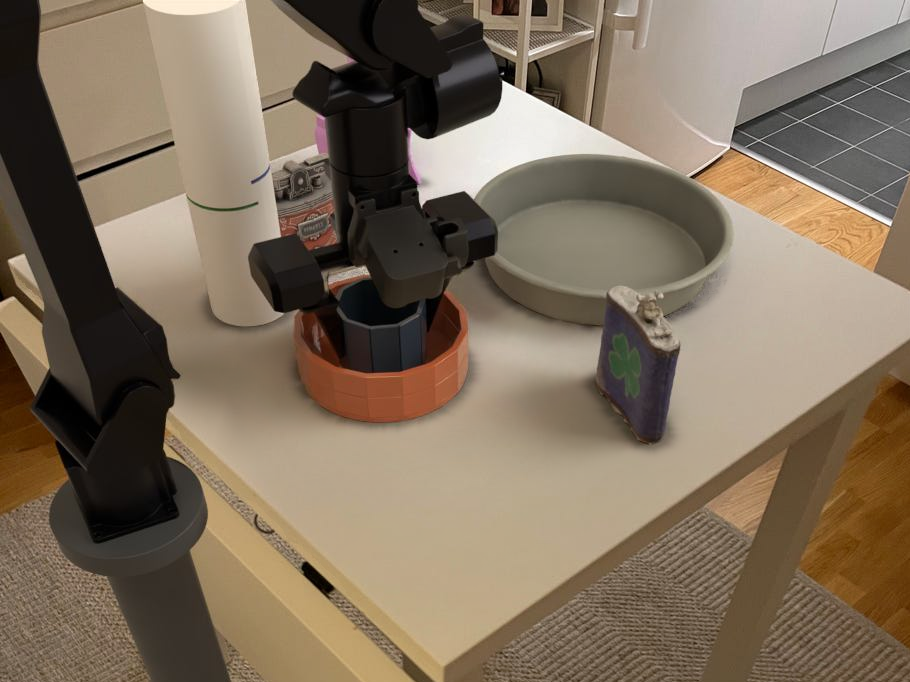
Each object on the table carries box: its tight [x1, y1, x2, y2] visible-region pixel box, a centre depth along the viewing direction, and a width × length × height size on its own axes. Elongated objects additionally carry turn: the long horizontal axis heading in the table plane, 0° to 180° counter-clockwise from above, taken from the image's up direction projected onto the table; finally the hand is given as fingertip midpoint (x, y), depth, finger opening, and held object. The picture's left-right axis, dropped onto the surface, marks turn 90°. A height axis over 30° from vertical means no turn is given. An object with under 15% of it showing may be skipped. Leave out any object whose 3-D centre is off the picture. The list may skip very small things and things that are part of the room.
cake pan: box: [473, 153, 735, 326], centre depth 94 cm, size 25×25×4 cm
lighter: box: [271, 153, 337, 250], centre depth 90 cm, size 8×3×10 cm, turn 130°
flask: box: [594, 286, 681, 446], centre depth 78 cm, size 9×3×11 cm, turn 24°
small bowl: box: [336, 277, 427, 373], centre depth 82 cm, size 7×8×6 cm
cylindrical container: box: [142, 0, 285, 327], centre depth 81 cm, size 7×7×25 cm
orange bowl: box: [293, 274, 469, 423], centre depth 83 cm, size 14×14×4 cm
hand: (382, 343), depth 83 cm, fingers open, 7 cm apart
